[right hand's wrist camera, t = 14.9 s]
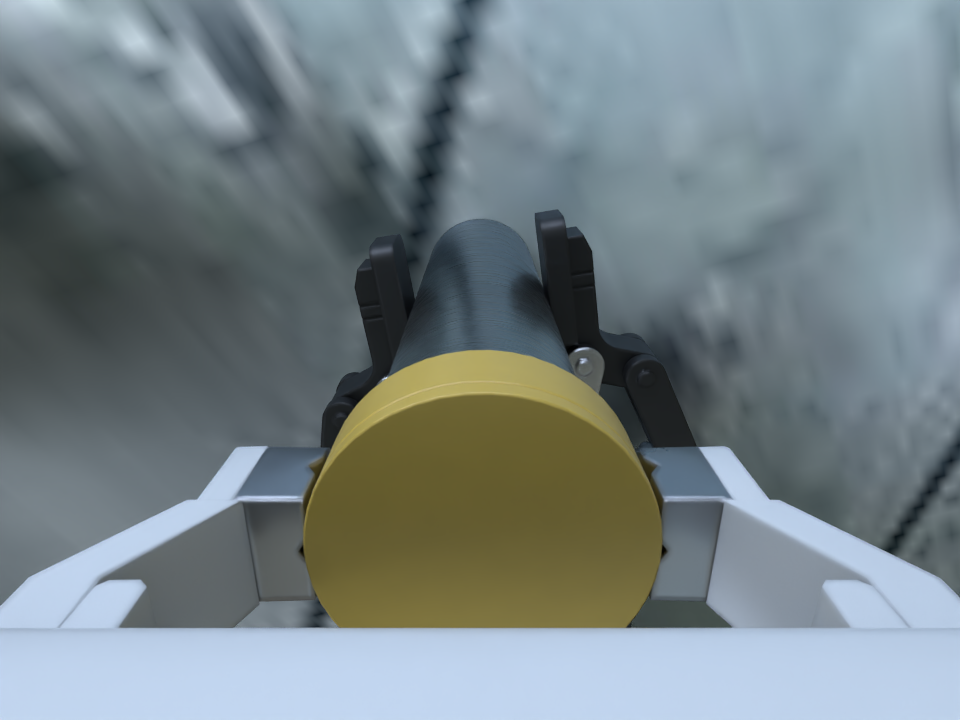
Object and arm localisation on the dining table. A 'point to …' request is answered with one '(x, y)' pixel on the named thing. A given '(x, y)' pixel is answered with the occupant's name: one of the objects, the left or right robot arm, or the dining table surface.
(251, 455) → the right robot arm
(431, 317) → the dark grey cylinder
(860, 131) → the dining table surface
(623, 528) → the lid
